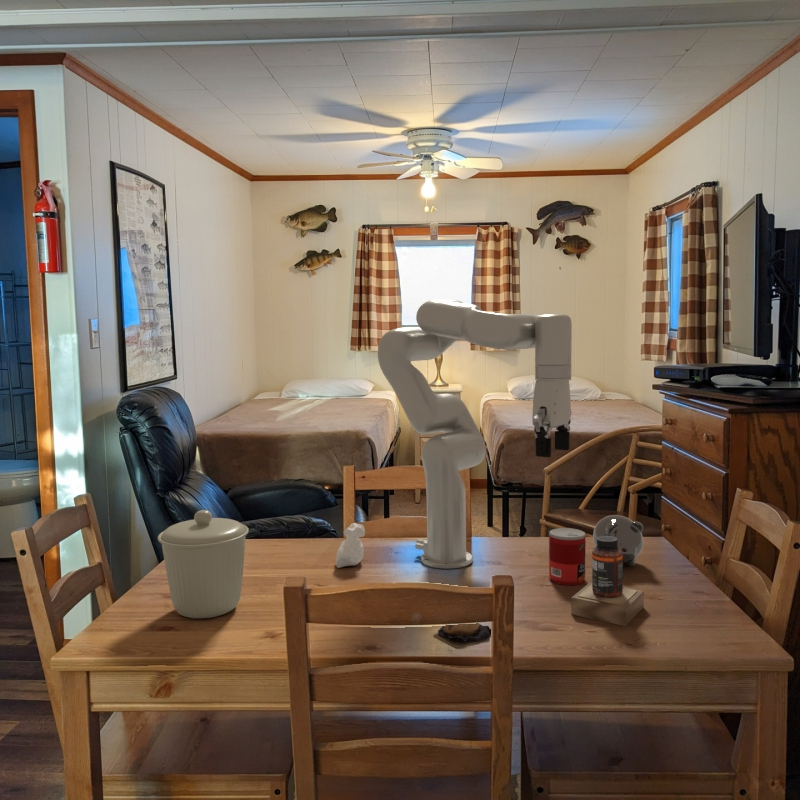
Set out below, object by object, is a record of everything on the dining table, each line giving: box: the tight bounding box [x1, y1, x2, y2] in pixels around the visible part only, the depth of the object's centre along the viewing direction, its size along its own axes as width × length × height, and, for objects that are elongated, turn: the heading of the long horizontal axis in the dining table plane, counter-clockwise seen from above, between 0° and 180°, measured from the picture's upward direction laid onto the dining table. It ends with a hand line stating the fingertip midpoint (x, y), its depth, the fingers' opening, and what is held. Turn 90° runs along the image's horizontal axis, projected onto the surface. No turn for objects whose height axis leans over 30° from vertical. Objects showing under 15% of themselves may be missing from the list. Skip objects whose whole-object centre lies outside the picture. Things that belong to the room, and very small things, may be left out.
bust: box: [335, 522, 366, 569], centre depth 182 cm, size 12×8×11 cm
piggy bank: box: [592, 514, 644, 567], centre depth 179 cm, size 11×15×12 cm
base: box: [570, 580, 645, 627], centre depth 150 cm, size 11×11×4 cm
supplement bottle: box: [591, 536, 624, 597], centre depth 149 cm, size 6×6×11 cm
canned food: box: [548, 527, 587, 586], centre depth 168 cm, size 8×8×11 cm
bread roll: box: [432, 622, 492, 650], centre depth 140 cm, size 11×8×4 cm
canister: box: [157, 509, 250, 619], centre depth 154 cm, size 18×18×21 cm
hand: (553, 453), depth 159 cm, fingers open, 9 cm apart
